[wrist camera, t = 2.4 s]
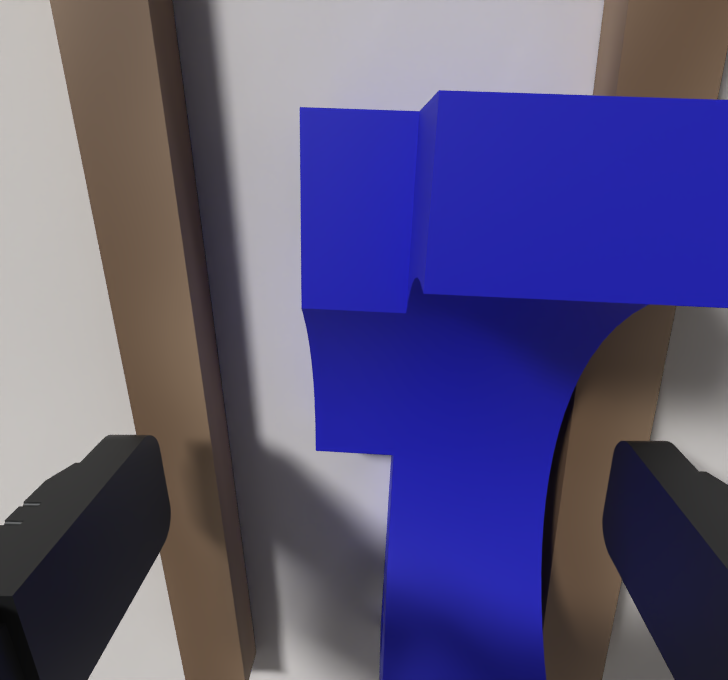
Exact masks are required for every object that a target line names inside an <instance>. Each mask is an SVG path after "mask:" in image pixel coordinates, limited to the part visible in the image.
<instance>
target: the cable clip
mask: <svg viewBox="0 0 728 680" xmlns="http://www.w3.org/2000/svg"><path fill="white" fill-rule="evenodd" d="M300 180H301V289H302V311H303V315H304V319H305V323H306V328H307V333H308V339H309V345H310V352H311V360H312V370H313V381H314V397H315V423H316V451H330V452H347V453H364V454H381V455H391V469H390V485H389V501H388V518H387V534H386V550H385V566H384V583H383V599H382V615H381V637H380V676H379V680H546V672H545V661H544V647H543V630H542V603H541V564H542V539H543V523H544V513H545V503H546V495H547V488H548V481H549V474H550V469H551V464H552V459H553V453H554V449H555V445H556V441H557V437H558V433H559V430H560V426H561V423H562V420H563V417H564V413H565V411H566V408H567V405H568V403H569V400H570V397H571V395H572V392H573V390H574V388H575V386H576V384H577V382H578V380H579V378H580V375H581V374H582V372H583V370H584V369H585V367H586V365H587V363H588V362H589V360H590V358H591V357H592V355H593V354H594V353H595V351H596V350H597V349H598V347H599V346H600V345H601V343H602V342H603V341H604V340H605V339H606V338H607V336H608V335H609V334H610V333H611V332H612V331H613V330H614V329H615V328H616V327H617V326H618V325H619V324H621V323H622V322H623V321H624V320H626V319H627V318H628V317H629V316H631V315H632V314H633V313H635V312H637V311H639V310H640V309H642V308H644V307H646V306H647V305H649V304H652V305H673V306H695V307H716V308H728V100H714V99H683V98H653V97H622V96H592V95H562V94H531V93H501V92H471V91H440V90H439V91H438V92H437V93H436V94H435V95H434V97H433V98H432V99H431V100H430V101H429V102H428V103H427V104H426V105H425V106H424V107H423V108H422V109H421V110H420V111H394V110H365V109H336V108H307V107H300Z"/></svg>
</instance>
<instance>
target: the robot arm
mask: <svg viewBox="0 0 728 680" xmlns="http://www.w3.org/2000/svg"><path fill="white" fill-rule="evenodd" d="M170 521H171V507H170V501H169V496H168V490H167V485H166V479H165V474H164V468H163V462H162V457H161V451H160V447H159V443H158V441H157V439H156V438H155V437H154V436H152V435H108V436H106V437H105V438H104V439H103V440H102V441H101V442H100V443H99V444H98V445H97V446H96V447H95V448H94V449H93V450H92V451H91V452H90V453H89V454H88V455H87V456H86V457H85V458H84V459H83V460H82V461H81V462H80V463H74V464H73V465H71V466H69V467H68V468H66V469H64V470H63V471H61V472H59V473H57V474H56V475H54V476H52V477H51V478H49V479H47V480H46V481H45V482H44V483H43V484H42V485H41V486H40V487H39V488H38V489H36V490H35V491H34V492H33V493H32V494H31V495H30V496H29V497H28V498H27V499H26V500H25V501H24V505H23V507H18V508H17V509H16V510H15V511H14V512H13V513H12V514H11V515H10V516H9V517H8V518H7V519H6V520H5V524H4V525H0V680H88V678H89V676H90V675H91V673H92V671H93V669H94V667H95V666H96V664H97V662H98V660H99V659H100V657H101V655H102V653H103V652H104V650H105V648H106V646H107V644H108V643H109V641H110V639H111V637H112V636H113V634H114V632H115V630H116V629H117V627H118V625H119V623H120V621H121V620H122V618H123V616H124V614H125V613H126V611H127V609H128V607H129V606H130V604H131V602H132V600H133V598H134V597H135V595H136V593H137V591H138V590H139V588H140V586H141V584H142V582H143V581H144V579H145V577H146V575H147V574H148V572H149V570H150V568H151V567H152V565H153V563H154V561H155V559H156V558H157V556H158V554H159V552H160V551H161V549H162V547H163V545H164V543H165V541H166V539H167V536H168V532H169V528H170ZM602 529H603V537H604V541H605V545H606V548H607V551H608V554H609V556H610V558H611V560H612V561H613V563H614V565H615V567H616V569H617V571H618V573H619V575H620V577H621V579H622V580H623V582H624V584H625V586H626V588H627V590H628V592H629V594H630V596H631V598H632V599H633V601H634V603H635V605H636V607H637V609H638V611H639V613H640V615H641V617H642V618H643V620H644V622H645V624H646V626H647V628H648V630H649V632H650V634H651V636H652V637H653V639H654V641H655V643H656V645H657V647H658V649H659V651H660V653H661V654H662V656H663V658H664V660H665V662H666V664H667V666H668V668H669V670H670V672H671V673H672V675H673V677H674V679H675V680H728V485H727V484H725V483H724V482H722V481H720V480H719V479H717V478H716V477H714V476H712V475H711V474H709V473H707V472H699V471H698V470H697V469H696V468H695V467H694V466H693V465H692V464H691V463H690V462H689V461H688V459H687V458H686V457H685V456H684V455H683V454H682V453H681V452H680V451H679V450H678V449H677V448H676V447H675V446H674V445H673V444H672V443H670V442H668V441H620V442H618V444H617V445H616V447H615V449H614V453H613V458H612V463H611V469H610V475H609V481H608V487H607V492H606V498H605V504H604V510H603V516H602Z"/></svg>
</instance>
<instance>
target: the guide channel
mask: <svg viewBox="0 0 728 680" xmlns="http://www.w3.org/2000/svg"><path fill="white" fill-rule="evenodd" d="M50 4H51V9H52V14H53V19H54V24H55V29H56V34H57V39H58V44H59V49H60V54H61V59H62V64H63V69H64V74H65V79H66V84H67V89H68V94H69V99H70V104H71V109H72V114H73V119H74V124H75V129H76V134H77V139H78V144H79V149H80V154H81V159H82V164H83V169H84V174H85V179H86V184H87V189H88V194H89V199H90V204H91V209H92V214H93V219H94V224H95V229H96V234H97V239H98V244H99V249H100V254H101V259H102V264H103V269H104V274H105V279H106V284H107V289H108V294H109V299H110V304H111V309H112V314H113V319H114V324H115V329H116V334H117V339H118V344H119V349H120V354H121V359H122V364H123V369H124V374H125V379H126V384H127V389H128V394H129V399H130V404H131V409H132V414H133V419H134V425H135V430H136V435H152V436H154V437H155V438H156V439H157V441H158V443H159V447H160V451H161V457H162V462H163V468H164V474H165V479H166V485H167V490H168V496H169V501H170V507H171V521H170V528H169V532H168V536H167V539H166V541H165V543H164V545H163V547H162V549H161V551H160V555H161V560H162V565H163V570H164V575H165V580H166V585H167V590H168V595H169V600H170V605H171V610H172V615H173V620H174V625H175V630H176V635H177V640H178V645H179V650H180V655H181V660H182V665H183V670H184V675H185V680H249V677H250V673H251V670H252V666H253V662H254V658H255V655H256V648H255V640H254V632H253V625H252V617H251V609H250V601H249V593H248V586H247V578H246V570H245V562H244V555H243V547H242V539H241V531H240V523H239V516H238V508H237V500H236V492H235V485H234V477H233V469H232V461H231V454H230V446H229V438H228V430H227V422H226V415H225V407H224V399H223V391H222V384H221V376H220V368H219V360H218V352H217V345H216V337H215V329H214V321H213V314H212V306H211V298H210V290H209V283H208V275H207V267H206V259H205V251H204V244H203V236H202V228H201V220H200V213H199V205H198V197H197V189H196V181H195V174H194V166H193V158H192V150H191V143H190V135H189V127H188V119H187V112H186V104H185V96H184V88H183V80H182V73H181V65H180V57H179V49H178V42H177V34H176V26H175V18H174V10H173V3H172V0H50ZM727 49H728V0H605V1H604V9H603V17H602V26H601V34H600V42H599V50H598V58H597V67H596V75H595V83H594V91H593V96H622V97H653V98H683V99H714V100H717V99H718V94H719V89H720V84H721V79H722V74H723V69H724V64H725V59H726V54H727ZM675 310H676V306H673V305H652V304H649V305H647V306H646V307H644V308H642V309H640V310H639V311H637V312H635V313H633V314H632V315H631V316H629V317H628V318H627V319H626V320H624V321H623V322H622V323H621V324H619V325H618V326H617V327H616V328H615V329H614V330H613V331H612V332H611V333H610V334H609V335H608V336H607V338H606V339H605V340H604V341H603V342H602V343H601V345H600V346H599V347H598V349H597V350H596V351H595V353H594V354H593V355H592V357H591V358H590V360H589V362H588V363H587V365H586V367H585V369H584V370H583V372H582V374H581V375H580V378H579V380H578V382H577V384H576V386H575V388H574V390H573V392H572V395H571V397H570V400H569V403H568V405H567V408H566V411H565V413H564V417H563V420H562V423H561V426H560V430H559V433H558V437H557V441H556V445H555V449H554V453H553V459H552V464H551V469H550V474H549V481H548V488H547V495H546V503H545V513H544V523H543V539H542V564H541V603H542V630H543V647H544V661H545V672H546V680H602V677H603V672H604V666H605V661H606V656H607V651H608V646H609V641H610V636H611V631H612V626H613V621H614V616H615V611H616V606H617V601H618V596H619V591H620V586H621V581H622V579H621V577H620V575H619V573H618V571H617V569H616V567H615V565H614V563H613V561H612V560H611V558H610V556H609V554H608V551H607V548H606V545H605V541H604V537H603V529H602V516H603V510H604V504H605V498H606V492H607V487H608V481H609V475H610V469H611V463H612V458H613V453H614V449H615V447H616V445H617V444H618V442H620V441H649V440H650V435H651V430H652V425H653V420H654V415H655V410H656V405H657V400H658V395H659V390H660V385H661V380H662V375H663V370H664V365H665V360H666V355H667V350H668V345H669V340H670V335H671V330H672V325H673V320H674V315H675Z"/></svg>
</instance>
